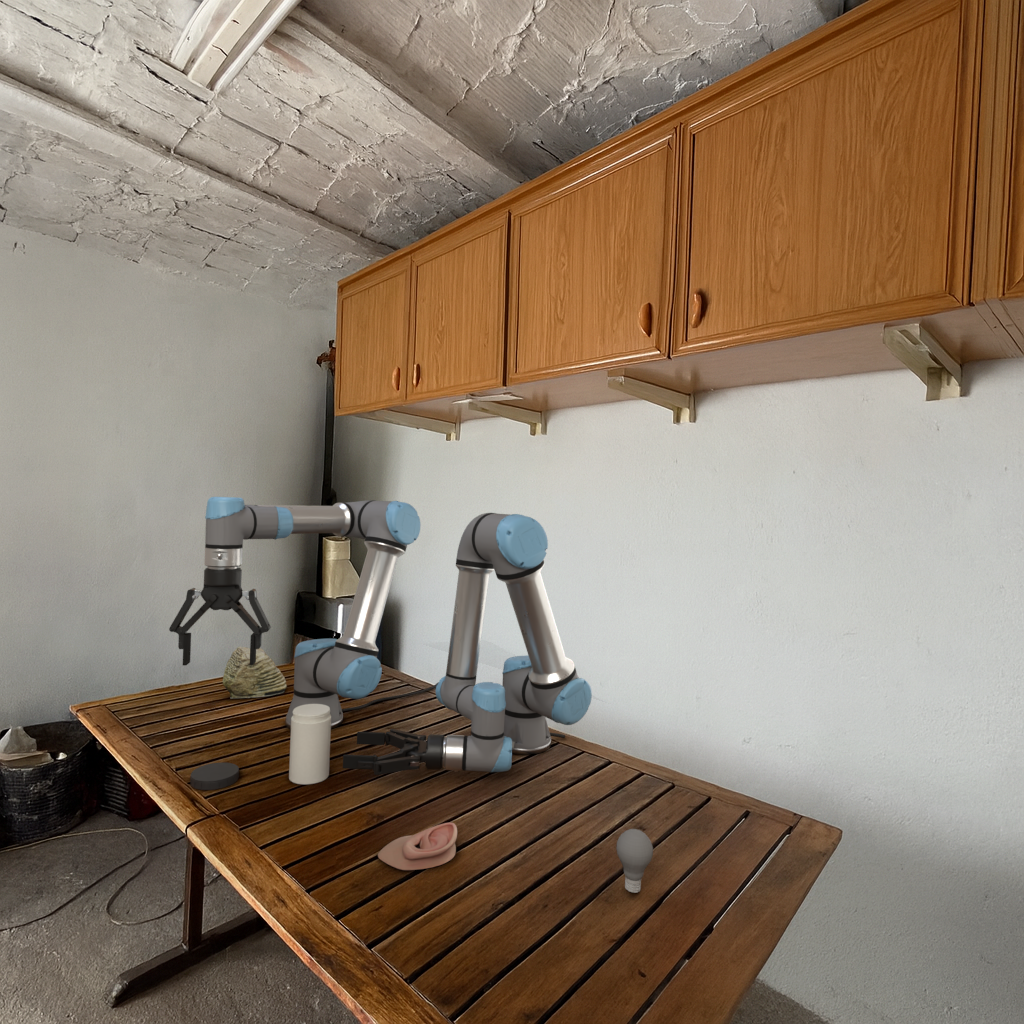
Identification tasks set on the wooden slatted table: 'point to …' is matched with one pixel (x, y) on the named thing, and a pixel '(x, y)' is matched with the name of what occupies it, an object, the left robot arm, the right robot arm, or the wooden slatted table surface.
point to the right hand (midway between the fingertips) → (350, 749)
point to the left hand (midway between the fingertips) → (219, 663)
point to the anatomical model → (422, 848)
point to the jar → (310, 744)
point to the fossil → (252, 675)
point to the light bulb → (634, 857)
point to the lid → (214, 776)
